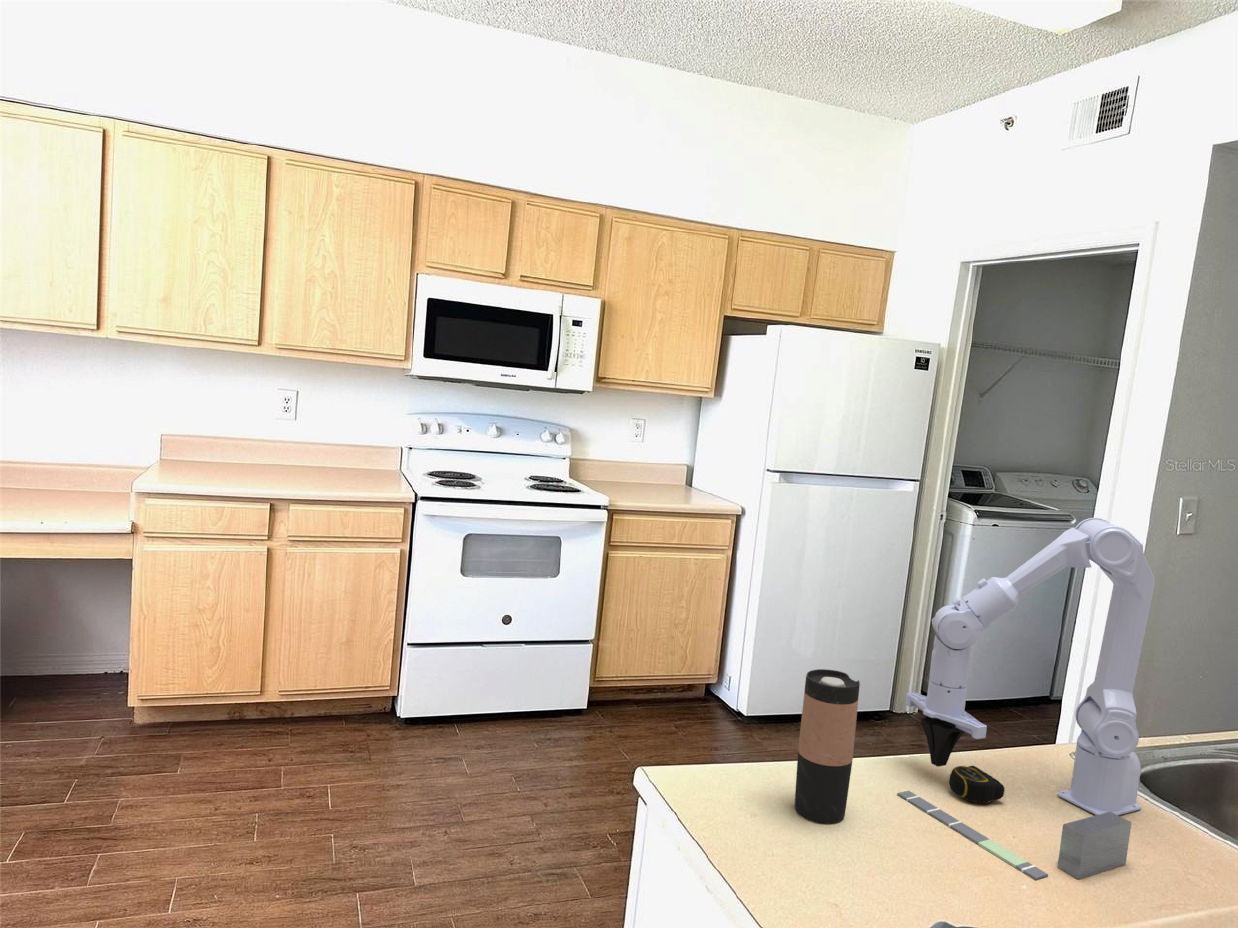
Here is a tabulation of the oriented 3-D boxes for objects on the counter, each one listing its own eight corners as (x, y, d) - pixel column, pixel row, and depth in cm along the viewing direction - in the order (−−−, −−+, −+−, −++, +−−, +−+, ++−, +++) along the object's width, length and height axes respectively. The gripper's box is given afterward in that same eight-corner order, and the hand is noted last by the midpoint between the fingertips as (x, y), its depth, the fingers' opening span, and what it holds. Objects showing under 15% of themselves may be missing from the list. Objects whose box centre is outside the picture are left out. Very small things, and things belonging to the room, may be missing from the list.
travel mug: (787, 816, 124) (801, 680, 122) (797, 794, 131) (810, 665, 129) (842, 830, 121) (857, 691, 119) (849, 806, 128) (863, 675, 126)
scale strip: (908, 792, 134) (909, 789, 134) (1048, 876, 113) (1048, 873, 113) (897, 794, 133) (897, 792, 133) (1035, 880, 112) (1035, 877, 112)
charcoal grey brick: (1100, 850, 121) (1106, 809, 120) (1125, 864, 118) (1131, 821, 117) (1053, 864, 116) (1059, 822, 116) (1078, 879, 113) (1084, 835, 112)
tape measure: (1005, 805, 133) (1008, 782, 132) (968, 809, 131) (971, 785, 130) (974, 784, 139) (977, 762, 139) (938, 787, 137) (941, 764, 137)
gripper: (895, 669, 143) (887, 748, 144) (967, 701, 130) (957, 788, 131) (926, 665, 146) (918, 743, 147) (999, 696, 133) (989, 781, 135)
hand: (938, 764), depth 140 cm, fingers closed
